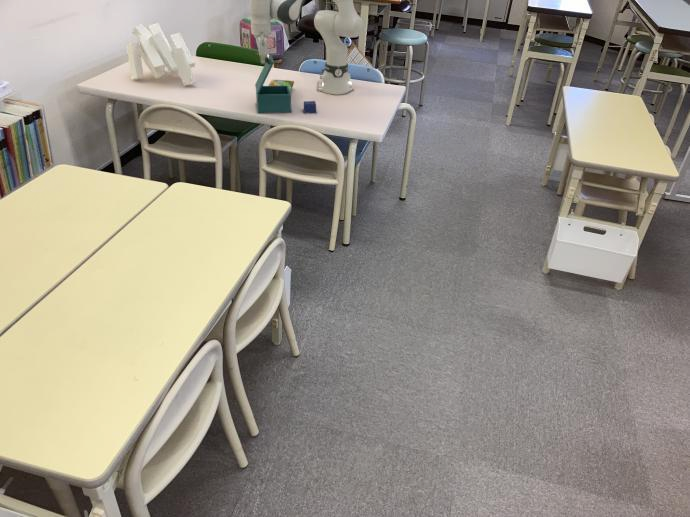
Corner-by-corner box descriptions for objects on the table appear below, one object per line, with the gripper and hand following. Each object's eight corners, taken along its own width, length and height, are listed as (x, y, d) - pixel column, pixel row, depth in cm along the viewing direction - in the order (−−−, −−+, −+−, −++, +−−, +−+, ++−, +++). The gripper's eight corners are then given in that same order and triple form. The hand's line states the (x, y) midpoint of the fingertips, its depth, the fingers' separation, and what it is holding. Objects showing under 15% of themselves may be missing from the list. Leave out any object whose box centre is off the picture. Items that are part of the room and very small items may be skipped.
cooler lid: (271, 54, 259) (262, 49, 257) (274, 62, 250) (264, 57, 247) (256, 85, 267) (247, 80, 264) (258, 94, 257) (248, 89, 254)
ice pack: (303, 110, 268) (303, 101, 266) (314, 109, 269) (315, 101, 267) (304, 113, 265) (304, 104, 262) (316, 112, 266) (316, 104, 263)
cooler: (288, 103, 275) (288, 85, 270) (291, 112, 265) (290, 94, 260) (256, 103, 272) (255, 85, 267) (258, 113, 262) (257, 95, 257)
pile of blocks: (208, 85, 304) (189, 19, 297) (193, 80, 275) (172, 7, 268) (149, 101, 307) (129, 36, 299) (128, 98, 278) (104, 26, 270)
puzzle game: (264, 90, 274) (271, 77, 290) (265, 99, 277) (272, 86, 293) (288, 92, 274) (294, 79, 290) (288, 101, 276) (294, 88, 293)
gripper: (270, 35, 238) (271, 67, 247) (266, 23, 255) (267, 54, 263) (255, 35, 237) (257, 68, 245) (252, 23, 253) (254, 54, 262)
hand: (262, 60), depth 254 cm, fingers closed on cooler lid, 5 cm apart
